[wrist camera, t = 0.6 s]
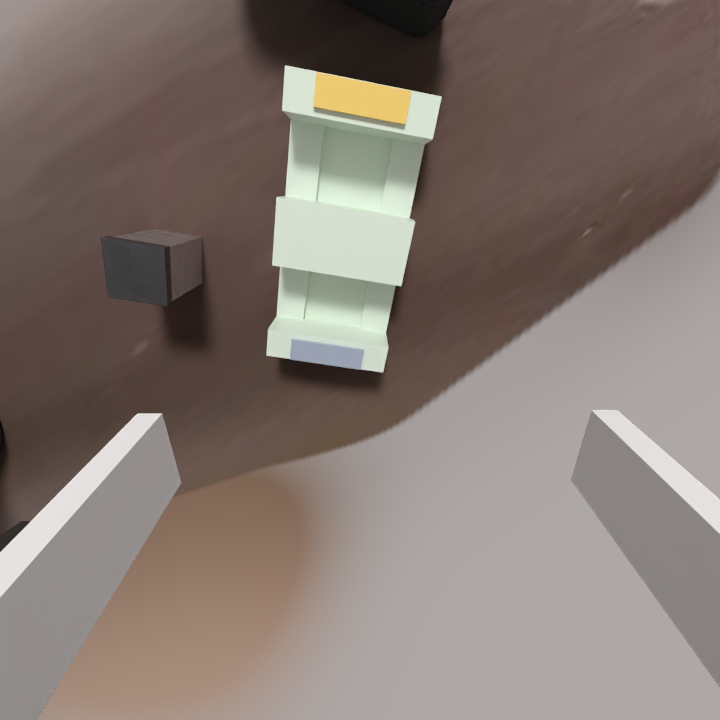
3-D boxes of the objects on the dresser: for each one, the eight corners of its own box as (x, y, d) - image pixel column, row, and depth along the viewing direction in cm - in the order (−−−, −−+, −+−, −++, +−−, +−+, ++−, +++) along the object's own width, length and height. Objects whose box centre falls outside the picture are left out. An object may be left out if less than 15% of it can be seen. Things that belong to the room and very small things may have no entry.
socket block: (277, 335, 36) (265, 357, 31) (296, 83, 27) (284, 63, 23) (380, 351, 36) (383, 374, 32) (429, 110, 28) (442, 95, 24)
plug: (156, 276, 33) (108, 297, 27) (152, 227, 32) (100, 237, 25) (203, 284, 34) (167, 306, 27) (203, 235, 32) (164, 247, 25)
